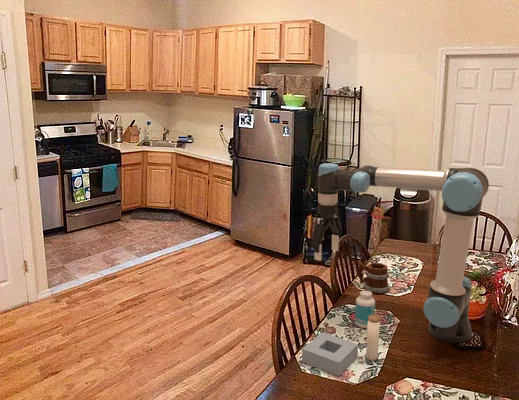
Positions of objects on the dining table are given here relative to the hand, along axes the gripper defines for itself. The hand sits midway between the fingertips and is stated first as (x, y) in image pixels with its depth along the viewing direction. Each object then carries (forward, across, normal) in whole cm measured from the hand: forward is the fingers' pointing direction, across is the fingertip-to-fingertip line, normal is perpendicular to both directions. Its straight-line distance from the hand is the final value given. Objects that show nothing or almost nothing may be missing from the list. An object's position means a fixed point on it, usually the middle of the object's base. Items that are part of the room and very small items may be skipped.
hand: (326, 255), depth 189 cm
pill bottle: (+27, -3, +16) cm, 31 cm away
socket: (+26, +27, +18) cm, 42 cm away
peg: (+27, +17, +28) cm, 42 cm away
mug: (+27, -36, +5) cm, 45 cm away
